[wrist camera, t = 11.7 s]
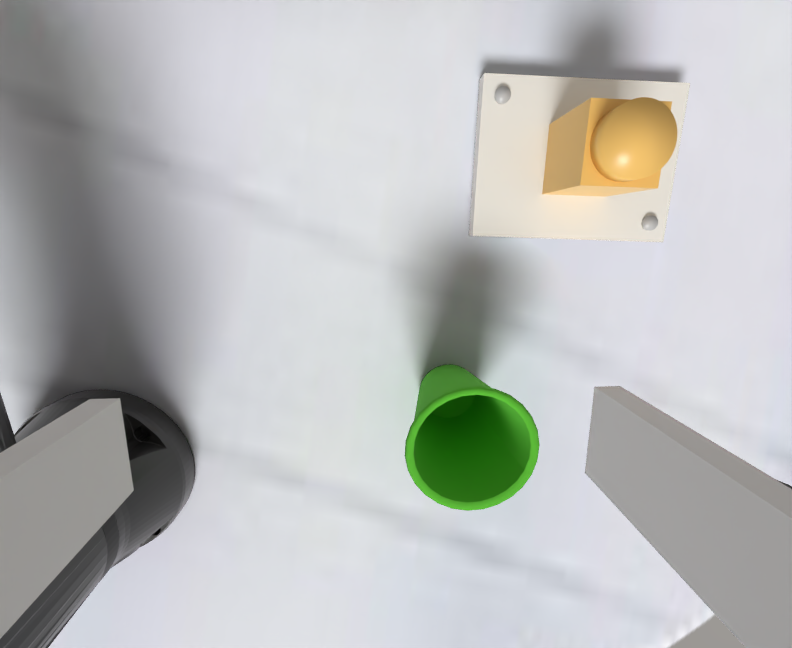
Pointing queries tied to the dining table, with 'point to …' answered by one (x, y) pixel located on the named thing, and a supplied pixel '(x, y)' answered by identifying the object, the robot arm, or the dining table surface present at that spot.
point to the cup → (469, 441)
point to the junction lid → (526, 155)
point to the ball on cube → (609, 147)
